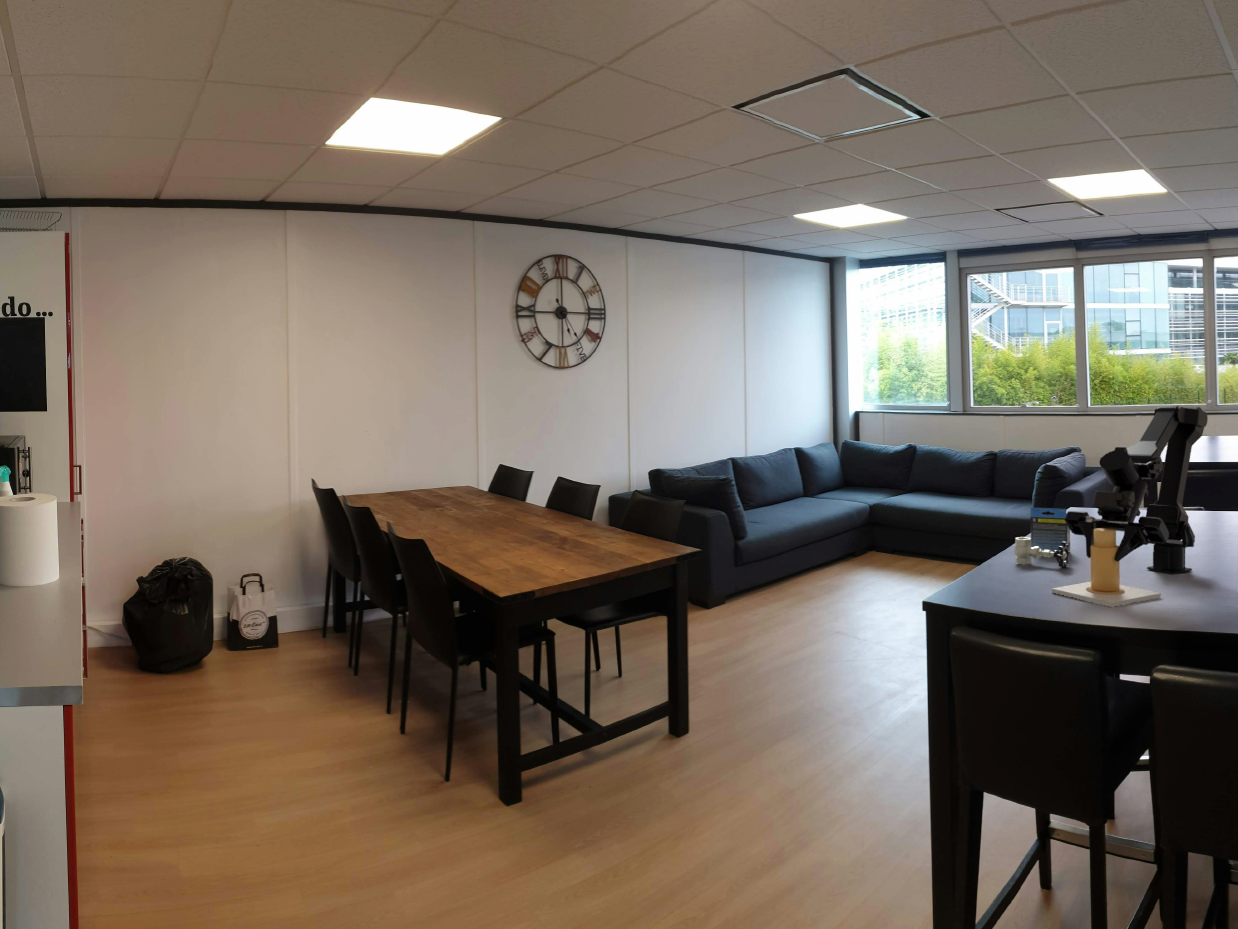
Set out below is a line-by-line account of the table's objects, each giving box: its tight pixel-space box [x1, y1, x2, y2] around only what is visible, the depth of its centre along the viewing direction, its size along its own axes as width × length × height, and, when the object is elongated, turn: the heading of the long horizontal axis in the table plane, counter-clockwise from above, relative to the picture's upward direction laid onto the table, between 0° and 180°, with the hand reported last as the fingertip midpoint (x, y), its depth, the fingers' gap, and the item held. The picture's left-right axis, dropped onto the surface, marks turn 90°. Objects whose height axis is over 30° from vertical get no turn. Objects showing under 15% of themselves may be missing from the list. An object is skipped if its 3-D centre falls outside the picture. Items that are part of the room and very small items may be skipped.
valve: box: [1013, 536, 1072, 569], centre depth 199 cm, size 7×7×12 cm
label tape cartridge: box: [1030, 506, 1071, 552], centre depth 213 cm, size 9×4×12 cm, turn 48°
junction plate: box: [1051, 581, 1162, 608], centre depth 169 cm, size 14×14×1 cm
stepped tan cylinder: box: [1090, 528, 1121, 591], centre depth 169 cm, size 5×5×12 cm
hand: (1101, 558), depth 168 cm, fingers closed on stepped tan cylinder, 5 cm apart
